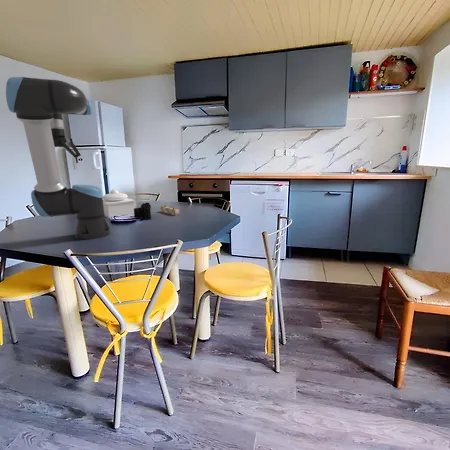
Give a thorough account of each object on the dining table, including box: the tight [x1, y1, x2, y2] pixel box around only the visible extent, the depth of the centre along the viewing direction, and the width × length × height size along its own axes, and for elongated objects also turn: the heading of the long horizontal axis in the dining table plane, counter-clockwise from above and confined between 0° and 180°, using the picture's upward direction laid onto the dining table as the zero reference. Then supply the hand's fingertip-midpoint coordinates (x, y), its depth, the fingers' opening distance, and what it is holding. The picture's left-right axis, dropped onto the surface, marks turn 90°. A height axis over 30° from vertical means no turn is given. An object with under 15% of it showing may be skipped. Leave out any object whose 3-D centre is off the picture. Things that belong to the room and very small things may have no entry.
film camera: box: [133, 202, 152, 221], centre depth 165 cm, size 15×10×9 cm, turn 17°
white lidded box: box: [102, 188, 137, 219], centre depth 178 cm, size 18×18×16 cm
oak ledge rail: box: [160, 204, 180, 217], centre depth 178 cm, size 18×2×4 cm, turn 41°
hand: (61, 169), depth 152 cm, fingers open, 13 cm apart
